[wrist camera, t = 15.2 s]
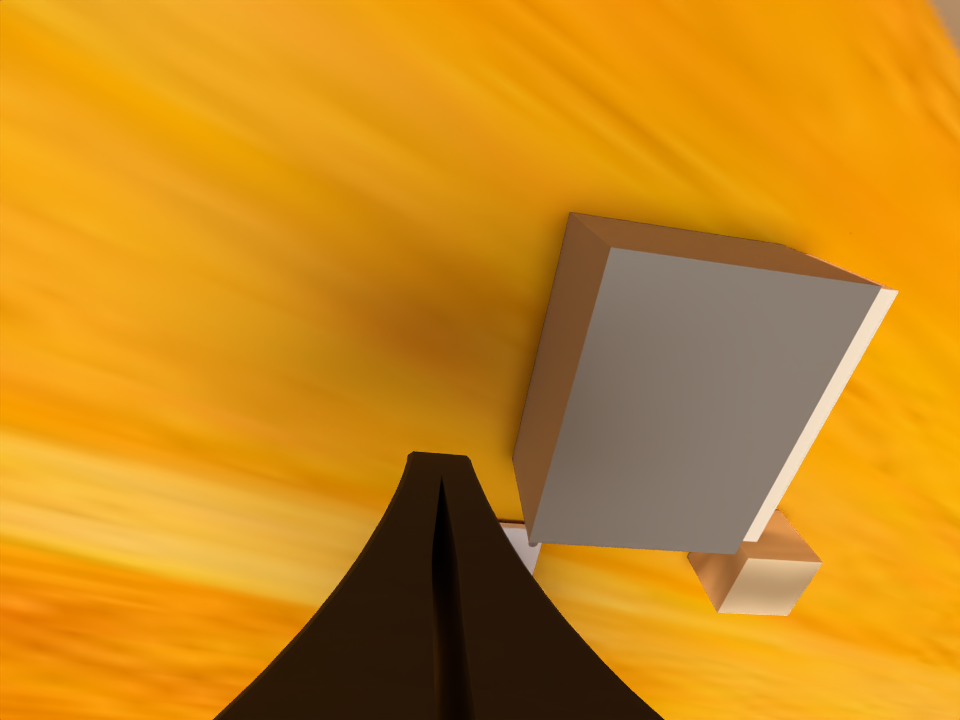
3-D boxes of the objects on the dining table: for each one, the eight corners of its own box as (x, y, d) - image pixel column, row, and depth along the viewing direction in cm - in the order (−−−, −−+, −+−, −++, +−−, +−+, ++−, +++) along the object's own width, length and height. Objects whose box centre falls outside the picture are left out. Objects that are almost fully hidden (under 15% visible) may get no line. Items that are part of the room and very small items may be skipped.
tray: (708, 474, 25) (756, 541, 22) (539, 460, 24) (557, 529, 20) (811, 254, 20) (899, 290, 16) (602, 223, 19) (643, 254, 15)
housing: (682, 473, 26) (735, 554, 21) (512, 459, 24) (528, 542, 20) (781, 244, 20) (882, 286, 16) (570, 212, 19) (611, 247, 14)
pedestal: (750, 561, 29) (787, 615, 26) (687, 557, 29) (717, 612, 26) (779, 510, 27) (822, 562, 24) (712, 505, 27) (748, 558, 24)
